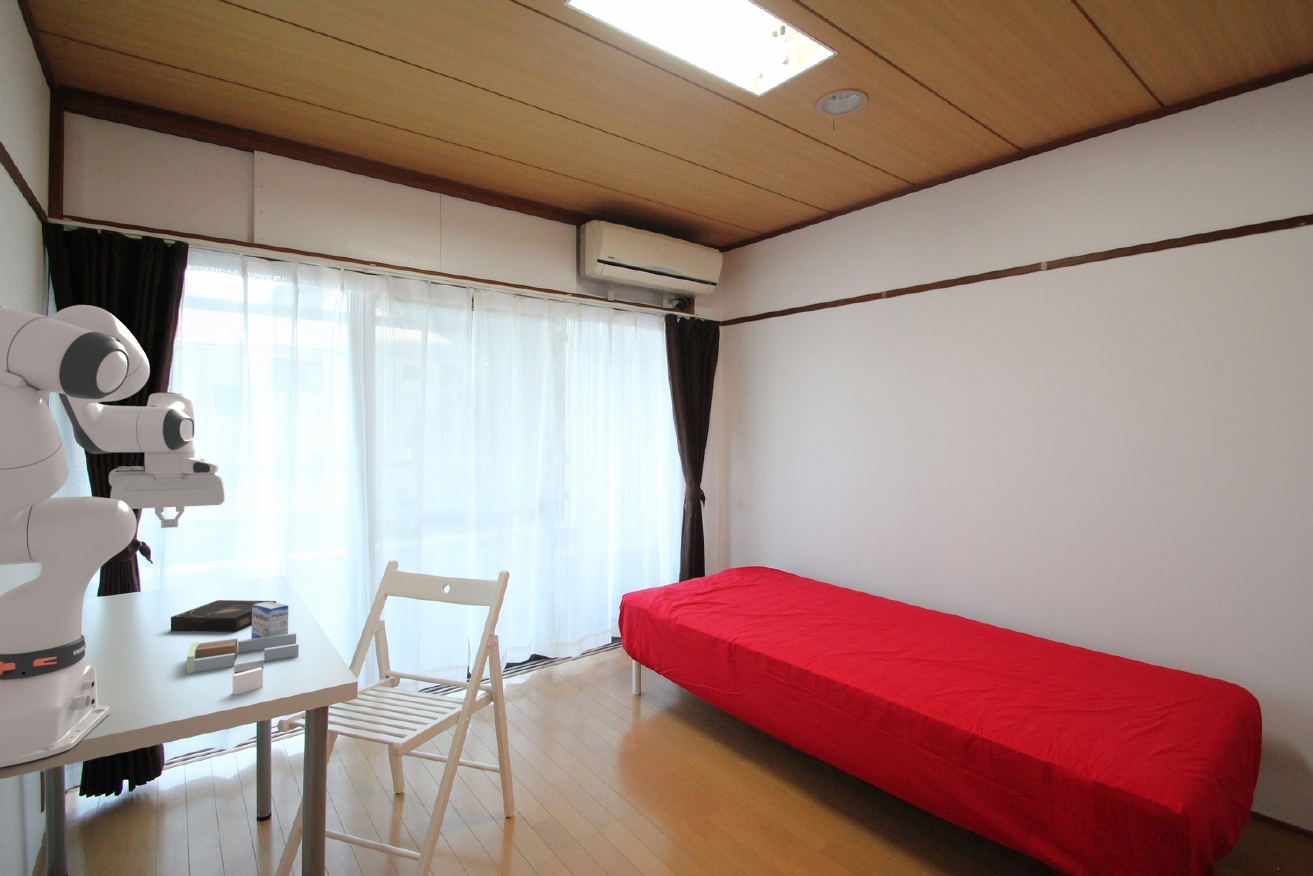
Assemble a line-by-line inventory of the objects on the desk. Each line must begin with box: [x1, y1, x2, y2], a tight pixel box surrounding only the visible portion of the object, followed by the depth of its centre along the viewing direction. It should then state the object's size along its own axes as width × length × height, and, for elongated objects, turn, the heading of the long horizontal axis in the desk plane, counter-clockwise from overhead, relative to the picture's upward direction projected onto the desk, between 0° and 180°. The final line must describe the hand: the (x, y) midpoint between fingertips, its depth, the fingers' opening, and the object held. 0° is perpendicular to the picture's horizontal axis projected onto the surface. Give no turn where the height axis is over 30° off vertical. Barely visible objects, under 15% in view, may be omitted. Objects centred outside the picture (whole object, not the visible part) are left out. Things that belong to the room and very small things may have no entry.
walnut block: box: [195, 638, 238, 661], centre depth 137 cm, size 5×7×4 cm
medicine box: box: [250, 602, 289, 639], centre depth 151 cm, size 8×4×9 cm, turn 62°
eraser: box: [232, 667, 264, 695], centre depth 122 cm, size 1×5×4 cm, turn 143°
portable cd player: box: [170, 599, 277, 633], centre depth 166 cm, size 16×17×4 cm
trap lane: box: [186, 632, 299, 675], centre depth 139 cm, size 20×20×4 cm
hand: (169, 527), depth 139 cm, fingers closed
